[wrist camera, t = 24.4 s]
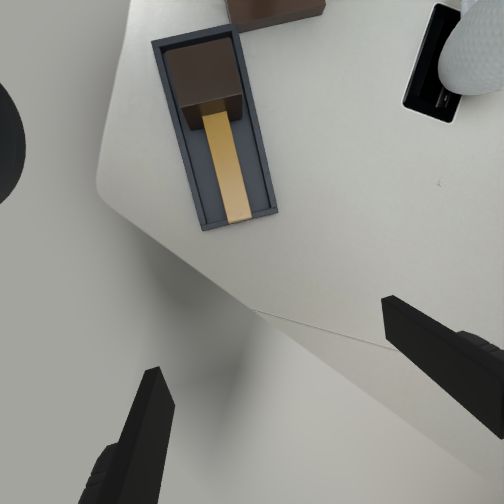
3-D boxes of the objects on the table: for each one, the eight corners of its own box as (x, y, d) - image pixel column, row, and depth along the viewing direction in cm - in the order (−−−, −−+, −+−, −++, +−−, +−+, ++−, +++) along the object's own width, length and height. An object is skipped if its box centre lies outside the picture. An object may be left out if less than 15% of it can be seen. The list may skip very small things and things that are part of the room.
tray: (276, 212, 37) (278, 212, 35) (203, 230, 37) (202, 231, 35) (236, 33, 34) (236, 21, 32) (155, 51, 33) (150, 40, 31)
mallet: (265, 215, 35) (270, 210, 29) (214, 227, 35) (209, 225, 29) (231, 72, 34) (229, 36, 28) (178, 84, 34) (165, 50, 28)
